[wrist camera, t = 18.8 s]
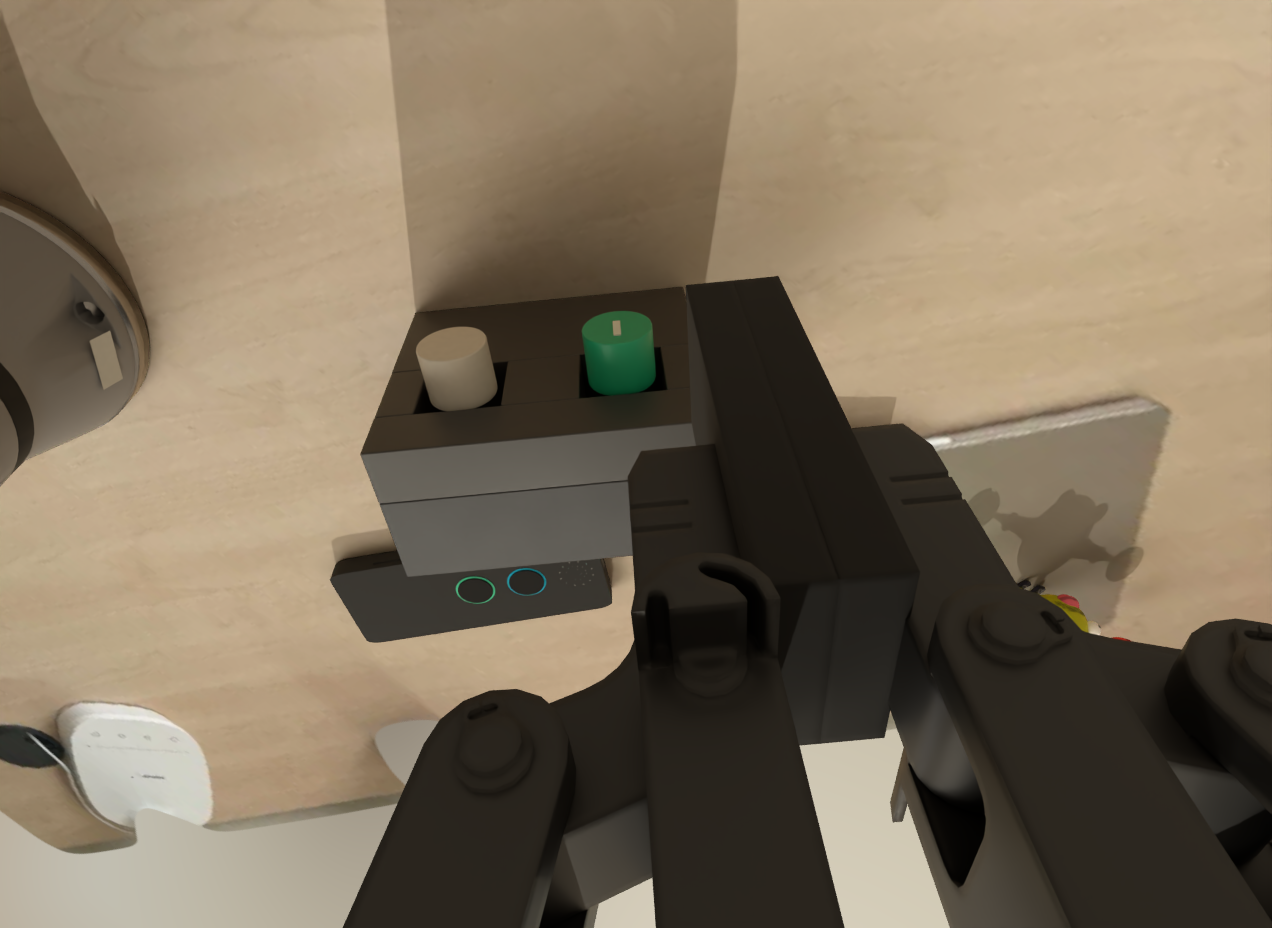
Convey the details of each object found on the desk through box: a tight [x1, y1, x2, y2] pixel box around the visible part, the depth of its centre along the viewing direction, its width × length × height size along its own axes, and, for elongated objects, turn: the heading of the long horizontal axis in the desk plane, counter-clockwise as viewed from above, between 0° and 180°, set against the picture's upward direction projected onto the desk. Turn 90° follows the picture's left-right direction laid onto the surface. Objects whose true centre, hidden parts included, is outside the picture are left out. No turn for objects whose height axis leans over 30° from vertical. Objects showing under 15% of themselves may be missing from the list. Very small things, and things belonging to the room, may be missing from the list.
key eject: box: [416, 327, 498, 411], centre depth 37 cm, size 3×3×3 cm
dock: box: [360, 287, 696, 577], centre depth 42 cm, size 8×16×14 cm, turn 94°
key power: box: [582, 311, 656, 396], centre depth 37 cm, size 3×3×3 cm
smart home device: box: [330, 551, 612, 643], centre depth 58 cm, size 8×2×20 cm
